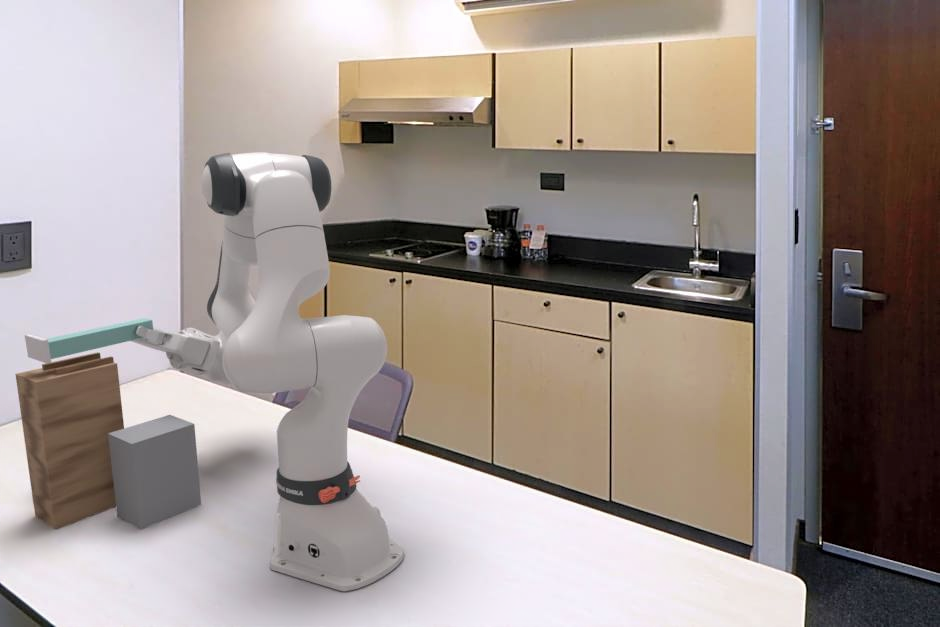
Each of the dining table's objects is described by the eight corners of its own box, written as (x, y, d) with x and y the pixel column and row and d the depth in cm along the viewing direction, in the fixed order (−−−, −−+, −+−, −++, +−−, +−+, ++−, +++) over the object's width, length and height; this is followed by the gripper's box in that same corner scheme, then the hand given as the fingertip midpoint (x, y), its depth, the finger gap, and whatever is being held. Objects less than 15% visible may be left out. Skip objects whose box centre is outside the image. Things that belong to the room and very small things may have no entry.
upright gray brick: (201, 504, 141) (194, 423, 138) (140, 529, 132) (131, 444, 129) (177, 492, 146) (169, 414, 143) (117, 516, 137) (107, 433, 133)
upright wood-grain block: (131, 500, 143) (116, 358, 137) (55, 529, 132) (35, 376, 126) (110, 489, 148) (94, 351, 142) (35, 516, 137) (14, 368, 131)
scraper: (159, 336, 144) (157, 316, 143) (46, 363, 128) (42, 340, 127) (140, 331, 148) (137, 311, 147) (28, 357, 132) (24, 334, 131)
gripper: (167, 329, 160) (108, 306, 149) (225, 342, 148) (165, 319, 137) (156, 357, 159) (96, 336, 148) (213, 373, 147) (152, 351, 136)
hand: (130, 328), depth 143 cm, fingers closed on scraper, 3 cm apart
